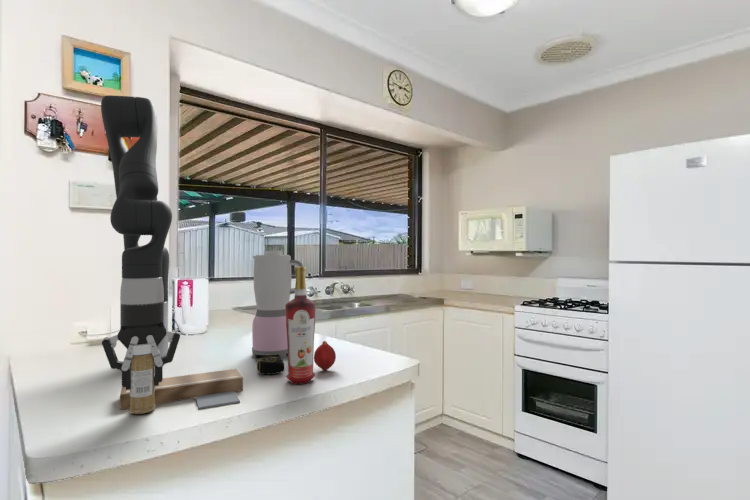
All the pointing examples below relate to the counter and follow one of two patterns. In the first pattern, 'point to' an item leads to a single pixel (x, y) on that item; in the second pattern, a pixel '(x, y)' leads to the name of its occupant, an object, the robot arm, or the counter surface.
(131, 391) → the sprinkles bottle
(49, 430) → the counter surface
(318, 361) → the onion
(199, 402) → the grey pad
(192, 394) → the walnut board
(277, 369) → the tape measure
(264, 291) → the blender
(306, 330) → the liquor
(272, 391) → the counter surface
